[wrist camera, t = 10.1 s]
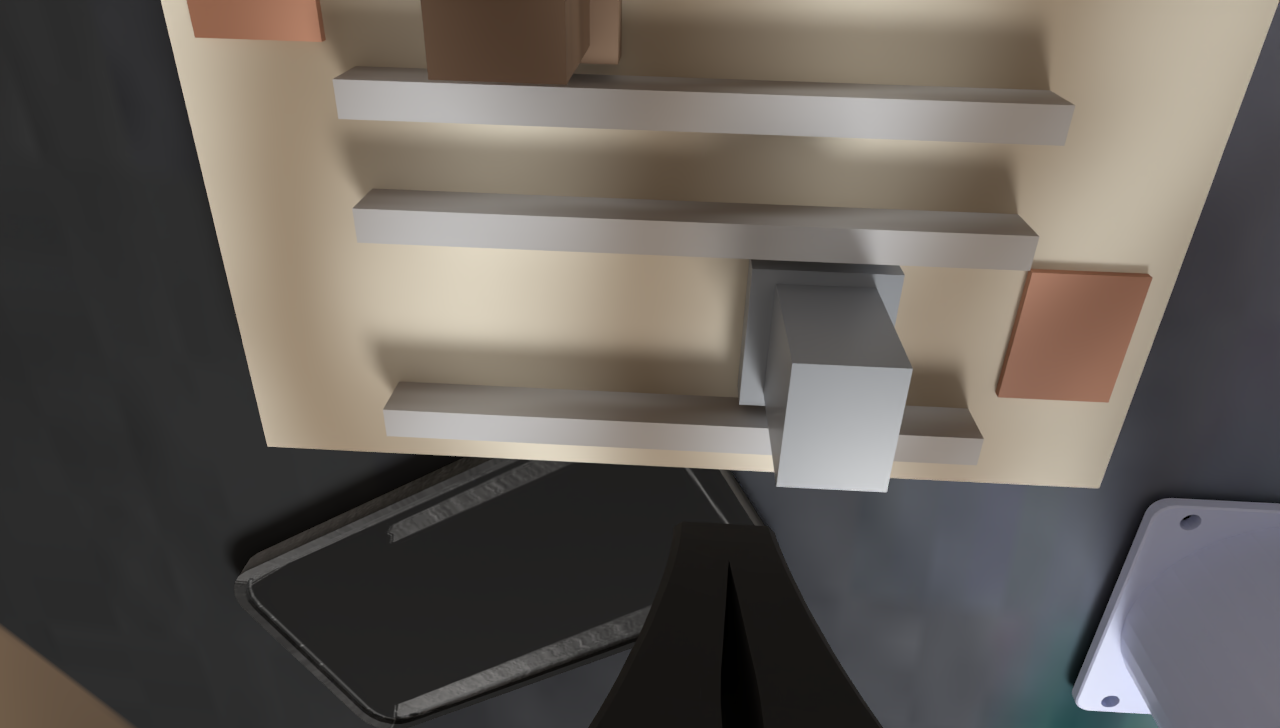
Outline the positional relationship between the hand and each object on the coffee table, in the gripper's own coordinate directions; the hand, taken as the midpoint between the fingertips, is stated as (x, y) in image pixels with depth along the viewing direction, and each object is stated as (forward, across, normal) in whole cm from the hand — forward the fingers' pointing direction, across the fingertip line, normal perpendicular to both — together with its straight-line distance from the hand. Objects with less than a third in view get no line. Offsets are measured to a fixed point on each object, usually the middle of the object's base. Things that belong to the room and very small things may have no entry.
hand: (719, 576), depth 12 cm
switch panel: (+9, +1, -4) cm, 10 cm away
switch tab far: (+7, -2, 0) cm, 8 cm away
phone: (+10, +5, +9) cm, 15 cm away
